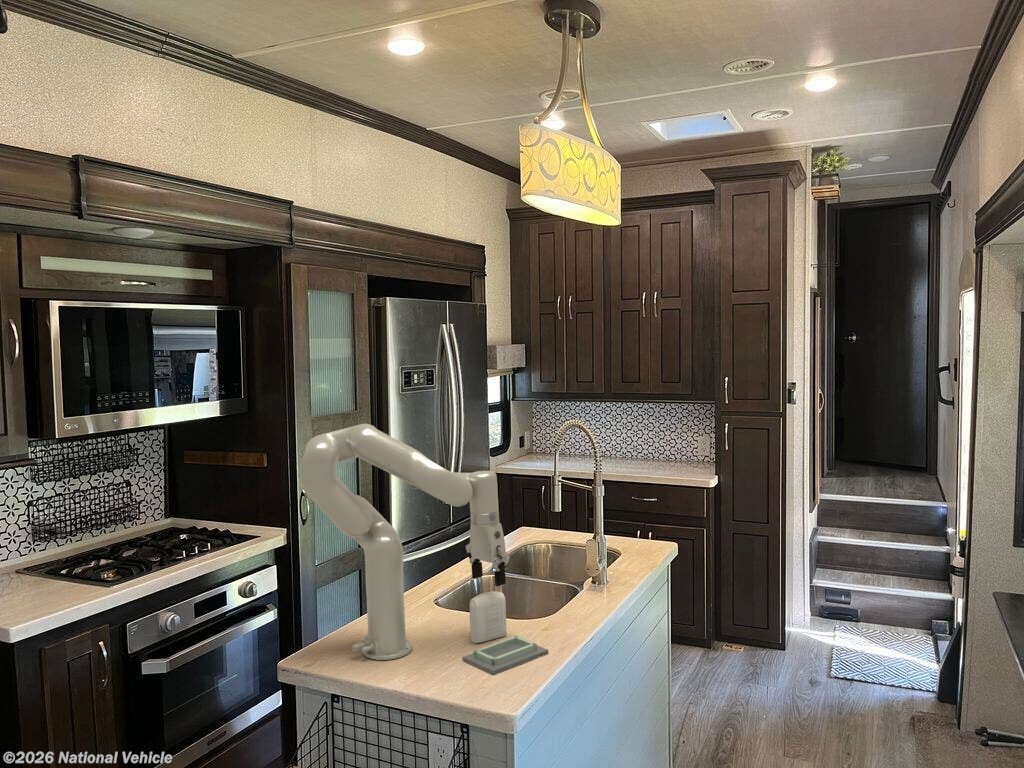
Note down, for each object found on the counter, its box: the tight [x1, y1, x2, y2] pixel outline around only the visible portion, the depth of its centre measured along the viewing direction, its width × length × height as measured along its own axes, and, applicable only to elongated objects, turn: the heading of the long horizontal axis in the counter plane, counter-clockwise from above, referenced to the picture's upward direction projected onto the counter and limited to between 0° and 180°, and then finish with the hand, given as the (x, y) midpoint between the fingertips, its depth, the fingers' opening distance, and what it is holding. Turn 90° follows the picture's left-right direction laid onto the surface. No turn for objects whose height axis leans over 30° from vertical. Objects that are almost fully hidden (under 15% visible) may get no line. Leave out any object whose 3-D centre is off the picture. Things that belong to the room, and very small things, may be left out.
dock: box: [462, 635, 549, 676], centre depth 196 cm, size 18×12×2 cm, turn 131°
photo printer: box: [469, 591, 507, 644], centre depth 209 cm, size 10×4×12 cm, turn 123°
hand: (488, 581), depth 209 cm, fingers open, 9 cm apart
